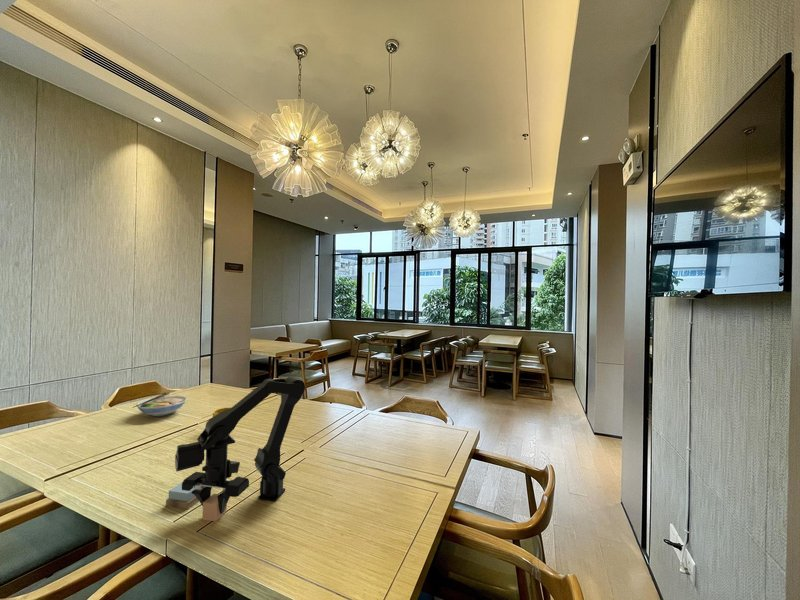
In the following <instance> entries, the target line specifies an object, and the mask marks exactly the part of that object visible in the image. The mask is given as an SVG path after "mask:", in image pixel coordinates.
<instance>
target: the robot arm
mask: <svg viewBox="0 0 800 600" xmlns="http://www.w3.org/2000/svg"><path fill="white" fill-rule="evenodd" d="M305 390H306V384H305V382H304V381H303V380H301V379H299V378H297V377H295V376H288V377H287V378H273V379H272V378H266V379H263V381H262V382H261V383H260V384H259V385H258V386H257V387H256V388H253V390H252V391H251V392H249V393H248V394H247V395H245V396H244V397H242V398H241V399H240V400H239V401H238V402H236V403H235V404H234V405H233V406H232V407H231V408H230V409H228V410H226V411H223V412H221V413H219V414H217V415H216V416H214V417H213V416H212V417H211V418H209V419H208V420H207V421H206V423H205V426H204V427H205V428H204V429H203V431H202V432H201V433H200V435H199V436H198V437H197V439H196V440H197V441H195V442H191V443H187V444H186V443H185V444H178V445H177V446H176V452H175V455H174V467H175V472H176V473H177V472H180V471H184V470H188V469H192V468H196V467H200V466H201V465H203V462H204V461H205V465H204V466H202V467H201V471H202V472H201V471H195V472H194V473H191V474H190V475H188V476H187V477H185V478H184V479H183V481H182V482H181V483H182V490H185V491H190V490H191V489H192V488H193V486H194V490H193V491H192V494H194V495H195V496H196V498H197V499H198V500H199V501H198V502H199V503H200V505H201V506H202V507H203V502H204V501H205V500H207V499H208V498H209V497H210V496H212V488H217V489H222V492H220V493H218V494H219V495H218V496H217V497H218V505H219V511H220V514H222V513H223V512H224V510H225V508H226V505H227V506H228V503H229V500H230V498H237V497H239V496H240V495H241V494H242V493H243V492H244V491H246V490H247V489H249V487H250V480H249V478H247V477H241V476H236V477H234V479H230V478H231V477H233V474H238V472H239V468H240V465H241V461H236V460H235V461H234V460H231V459H228V447H229V445H232V444H235V443H236V440H235V438H234V437H232V436H231V435H230V434H231V433H232V432H233V430H234V429H235V428H236V427H237V425H238V423H239V422H240V421H241V419H242V418H244V417H245V416H246V415H247V414H249V412H251V411H253V409H254V408H256V407H257V406H258V405H260V403H262V402H263V401H265V399H266V398H268V396H270V395H271V394H280V404H279V408H278V410H277V413H276V416H275V419H274V422H273V424H272V428H271V430H270V433H269V436H268V440H267V442H266V444H265V445H264V447H262V448H260V447H259V448H258V449H257V452H256V455H255V458H254V459H253V461H254V465H255V466H254V467H255V468H256V470H257V471H258V472H259V474H260V475H261V480H260V481H259V485H260V486H259V495H258V496H257V499H258V500H266V501H272V502H276V501H277V500H278V499H279V498H280V497H281V496H282V495H283V494H284V493H285V492H286V488H285V487H284V480H285V478H286V474H287V473H286V471H285V470H284V469H283V468H282V467H281V465H280V463H281V447H282V443H283V441H284V438H285V435H286V432H287V429H288V426H289V424H290V420H291V417H292V415H293V412H294V408H295V406H296V404H298V402H299V401H300V400H301V399H302V397H303V395H304V392H305ZM227 479H230V480H227Z"/></svg>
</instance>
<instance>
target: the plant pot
mask: <svg viewBox="0 0 800 600" xmlns="http://www.w3.org/2000/svg"><path fill="white" fill-rule="evenodd" d="M230 408H231V407H229V406H228V407H222V408H217V409H216V410H213V412H212V417H214V416H216V415H217V414H219V413H221V412H223V411H226V410H228V409H230Z"/></svg>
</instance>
